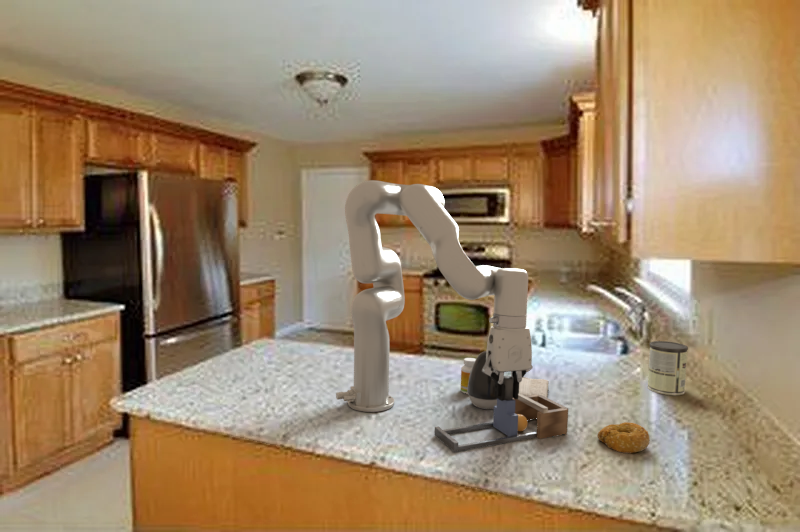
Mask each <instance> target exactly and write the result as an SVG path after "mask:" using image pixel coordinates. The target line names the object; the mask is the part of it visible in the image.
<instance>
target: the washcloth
mask: <svg viewBox="0 0 800 532" xmlns="http://www.w3.org/2000/svg"><path fill="white" fill-rule="evenodd" d="M549 384H550V383H549V380H548V379H544V378H543V379H542V378H530V377H527V376H526V377H525V376H524V377H523V378H522V381H521V382H519V393H520V394H522V395H524V396H529V395H537V394H538V395H542V396H544V397H546V398H548V396H549V395H548V391H549Z"/></svg>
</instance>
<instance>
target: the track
mask: <svg viewBox="0 0 800 532" xmlns="http://www.w3.org/2000/svg"><path fill="white" fill-rule="evenodd" d="M491 428H492V429H493V428H495V427H494V426H493V421H489V422H484V423H477V424H472V425H471V424H470V425H464V426H460V427H452V428H446V429H442V427H440V426H434V437H436V438H437V439H438V440H439V441H440V442H442V443H443V444H444V445H445V446H446V447H447V448H449V449H450V450H451V451H452V452H453V453H457V452H463V451H469V450H474V449H480V448H486V447H490V446H496V445H497V446H498V445H502V444H508V443H513V442H519V441H525V440H530V439H531V440H532V439H535V437H536V438H537V431H532V432H526V433H521V434H517V435H514V436H505V437H498V438H492V439H486V440H480V441H475V442H469V443H463V444H459V442H458V440H456V439H454V438H453V437H452V436H451V435H453V434H454V435H455V434H459V433H460V434H461V433H467V432H472V431H479V430H485V429H491Z"/></svg>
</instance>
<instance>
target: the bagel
mask: <svg viewBox="0 0 800 532" xmlns="http://www.w3.org/2000/svg"><path fill="white" fill-rule="evenodd" d="M597 439H598V440H599V441H600V442H602V443H604V444H605V445H606V446H607V448H609V449H612V450H614V451H615V452H618V453H624V454H625V453H627V454H633V453H639V452H641V451H644V450H645V449H646V448H647V447H648V446H649V445H650V442H651V441H650V434H649V431H647V430H646V429H645V427H643V426H641V425H640V424H637V423H634V422H628V421H627V422H626V421H624V422H622V423H619V424H617V423H616V424H608V425H606V426H604V427H603V428H601V429H600V430H599V431H598V433H597Z"/></svg>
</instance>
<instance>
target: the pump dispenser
mask: <svg viewBox="0 0 800 532" xmlns="http://www.w3.org/2000/svg"><path fill="white" fill-rule="evenodd" d="M486 351H487V350H483V351H482V352H480V353H479V354H478V355H477V357H476V358H475V359H476V360H475V362H474V364H473V367H472V370H471V373H470V376H469V381H468V388H467V393H468V394H467V395H468V398H469V401H470V403H472V405H473V406H475V407H477V409H482V410H494V406H497V398H496V397H495V394H494V387H495V381H493V379H492V378H491V377H490V376H489V375H487V374H485V373H483V372H482V369H483V367H484V365H485V363H486ZM491 371H494V369H493V368H491Z"/></svg>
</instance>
